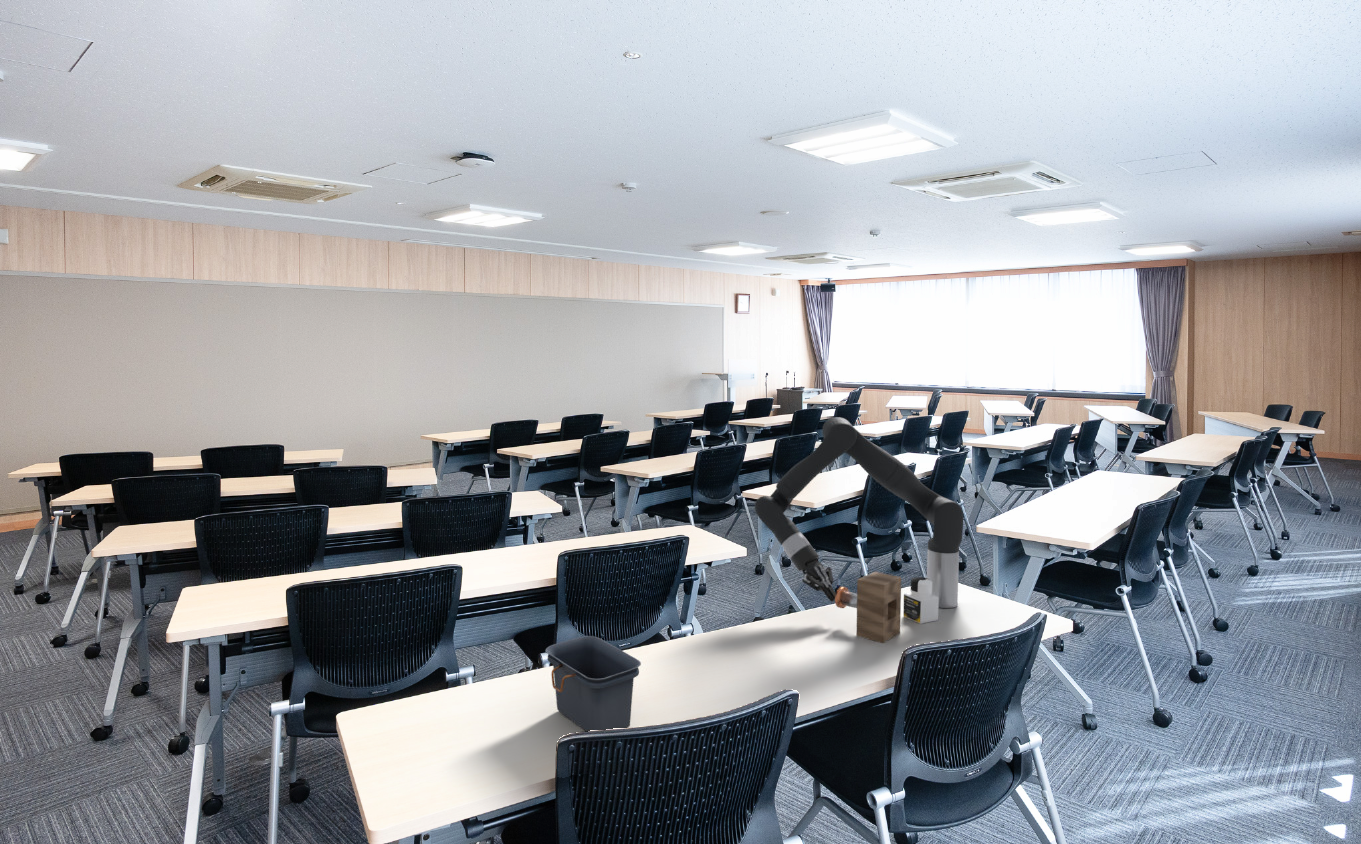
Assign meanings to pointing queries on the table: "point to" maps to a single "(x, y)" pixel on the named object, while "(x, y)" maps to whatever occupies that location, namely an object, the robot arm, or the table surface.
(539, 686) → the table surface
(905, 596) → the medicine bottle
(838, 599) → the pin
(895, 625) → the post
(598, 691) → the storage bin
